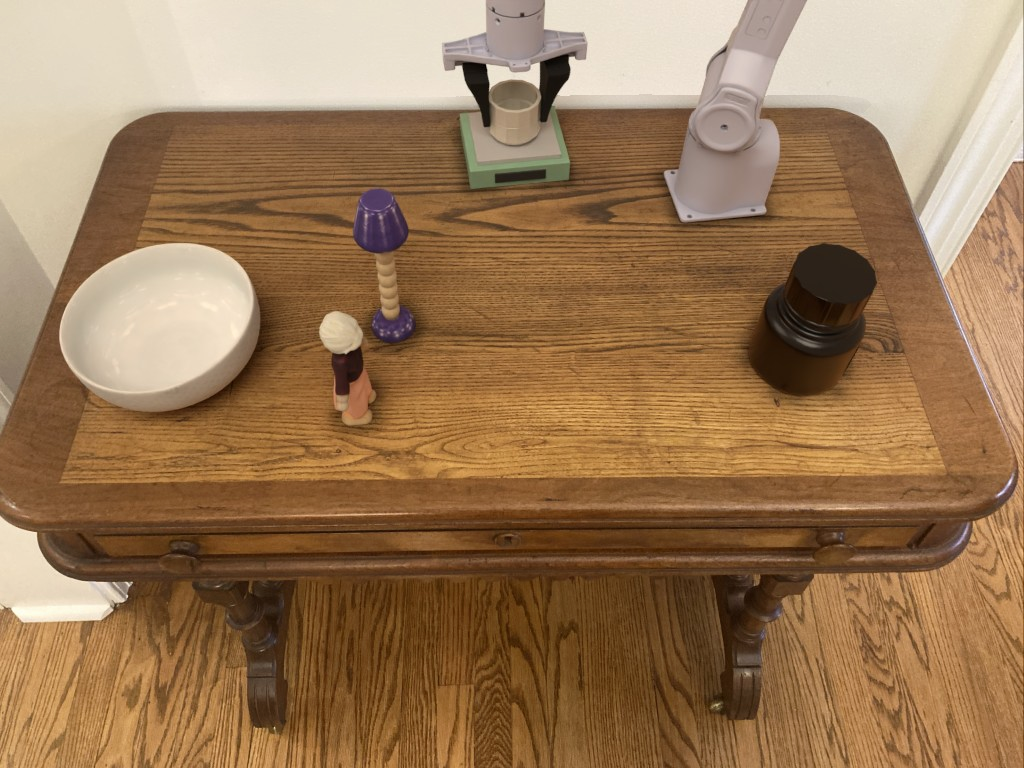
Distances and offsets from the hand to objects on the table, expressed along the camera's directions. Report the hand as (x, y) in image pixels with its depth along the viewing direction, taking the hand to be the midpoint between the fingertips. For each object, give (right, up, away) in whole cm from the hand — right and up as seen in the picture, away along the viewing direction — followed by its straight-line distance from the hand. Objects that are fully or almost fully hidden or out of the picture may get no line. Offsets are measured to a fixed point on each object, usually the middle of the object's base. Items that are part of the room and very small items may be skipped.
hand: (513, 119), depth 93 cm
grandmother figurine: (-14, -31, -16) cm, 38 cm away
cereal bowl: (-31, -27, -13) cm, 43 cm away
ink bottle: (+27, -27, -12) cm, 40 cm away
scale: (0, -3, +4) cm, 5 cm away
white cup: (0, -1, +1) cm, 2 cm away
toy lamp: (-11, -24, -11) cm, 28 cm away
